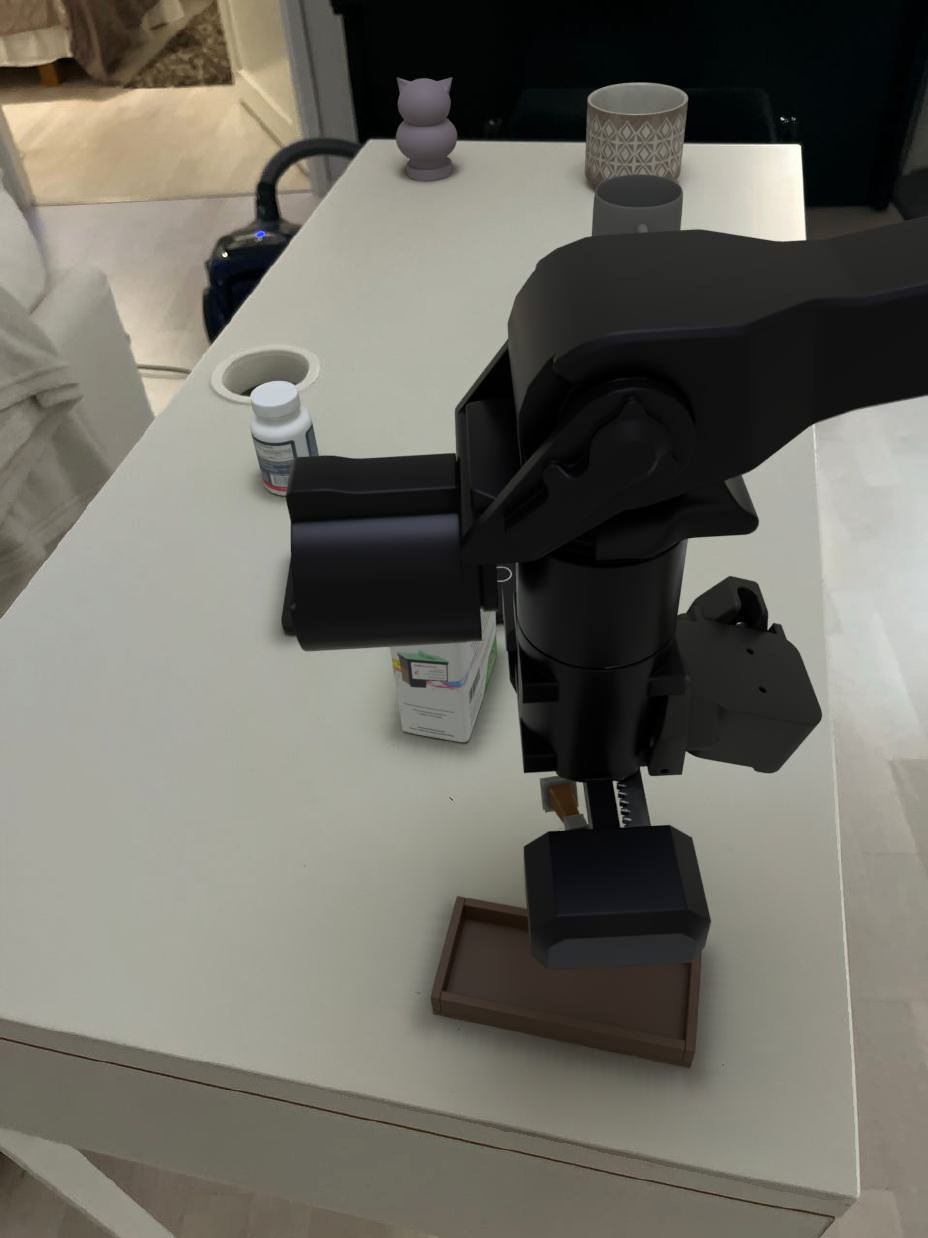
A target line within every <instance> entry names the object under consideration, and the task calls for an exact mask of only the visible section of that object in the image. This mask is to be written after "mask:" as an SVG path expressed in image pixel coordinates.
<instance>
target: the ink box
mask: <svg viewBox="0 0 928 1238" xmlns="http://www.w3.org/2000/svg"><path fill="white" fill-rule="evenodd" d="M480 611H481V628H482V641H472V642H467V643H449V644H431V645H413V646H396V647H389V650H390V656H391V657H390V658H391V663H392V664H391V665H392V670H393V675H394V676H393V677H394V684H395V691H396V697H397V704H398V711H399V718H400V723H401V730H402V732H405V733H409V734H414V735H417V736H424V737H429V738H436V739H440V740H447V741H453V742H457V743H458V742H460V743H466V742H468V741H470V738H471V736H472V733H473V729H474V727H475V723H476V722H477V717H478V715H479V711H480V709H481V705H482V703H483V699H484V697H485V694H486V690H487V686H488V684H489V682H490V679H491V678H490V677H491V675H492V672H493V669H494V665H495V662H496V659H497V656H498V644H497V643H498V642H497V641H498V639H497V621H496V613H495V611H493V612H484V611H483V609H480Z"/></svg>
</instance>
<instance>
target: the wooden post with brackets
mask: <svg viewBox="0 0 928 1238" xmlns="http://www.w3.org/2000/svg"><path fill="white" fill-rule="evenodd" d="M539 787H540V796H541V807H542V810H543V811H544V813H545V814H548V813H553V812H554V813H555V814H556V815H557V817H558V818H559V819H560V821H561V822H562V824H563V826H564V830H581V829H589V824H588V821H587V820H586V819H585V815H584V813H581V812H580V810H579V807H580V805H579V795H578V782H575V781H571V780H567V779H564V778H561V777H559V776H558V775H552V776H546V777H541V778H539Z"/></svg>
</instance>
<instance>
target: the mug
mask: <svg viewBox="0 0 928 1238" xmlns="http://www.w3.org/2000/svg"><path fill="white" fill-rule="evenodd" d="M683 202H684V190H683V188H682V186H681V184H679V183H678V182H677V181H673V180H671V179H668V178H665V177H661V176H656V175H647V174H631V175H622V176H617V177H613V178H610V179H607V180H605V181H603V182H602V183H600V184H599V185H598V186H597V185H596V187H595V191H594V195H593V205H592V206H593V207H592V224H591V236H597V235H606V234H623V233H641V232H658V231H675V230H682V229H681V228H682V218H683V204H684V203H683Z"/></svg>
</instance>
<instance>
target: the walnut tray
mask: <svg viewBox="0 0 928 1238" xmlns="http://www.w3.org/2000/svg"><path fill="white" fill-rule="evenodd" d="M702 954H703V950H702V951H701V952H700V954H699V955H698V956H697V957H696V959H695V960H694V961H693V962H692V963H677V964H657V965H638V966H618V967H598V968H579V969H559V970H547V969H546V968H545V967H543V966H542V965H541V964H540V963H539V962H537V961H536V960H535V959H534V958H533V957H531V954H530V942H529V929H528V917H527V907H526V908H525V907H519V906H514V905H509V904H503V903H498V902H493V901H488V900H483V899H482V900H481V899H476V898H472V897H471V898H470V897H465V896H460V895H457V896H456V898H455V901H454V906H453V910H452V913H451V917H450V921H449V924H448V928H447V932H446V936H445V940H444V943H443V949H442V951H441V956H440V960H439V963H438V967H437V971H436V975H435V979H434V982H433V986H432V990H431V993H430V1002H431V1003H430V1004H431V1008H432V1014H433V1015H436V1016H437V1015H438V1016H443V1017H446V1018H447V1017H448V1018H452V1019H457V1020H461V1021H466V1022H472V1023H475V1024H480V1025H485V1026H489V1027H495V1028H500V1029H503V1030H510V1031H512V1032H518V1033H523V1034H528V1035H532V1036H536V1037H537V1036H538V1037H542V1038H545V1039H546V1038H547V1039H551V1040H557V1041H561V1042H566V1043H571V1044H576V1045H580V1046H586V1047H590V1048H595V1049H598V1050H603V1051H609V1052H614V1053H619V1054H624V1055H627V1056H633V1057H638V1058H643V1059H647V1060H652V1061H656V1062H660V1063H666V1064H669V1065H674V1066H675V1065H676V1066H680V1067H684V1068H689V1069H690V1068H691V1067H692V1064H693V1061H694V1058H695V1055H696V1047H697V1046H696V1045H697V1031H698V1015H699V1014H698V1013H699V1000H700V985H701V984H700V983H701V969H702Z"/></svg>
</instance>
